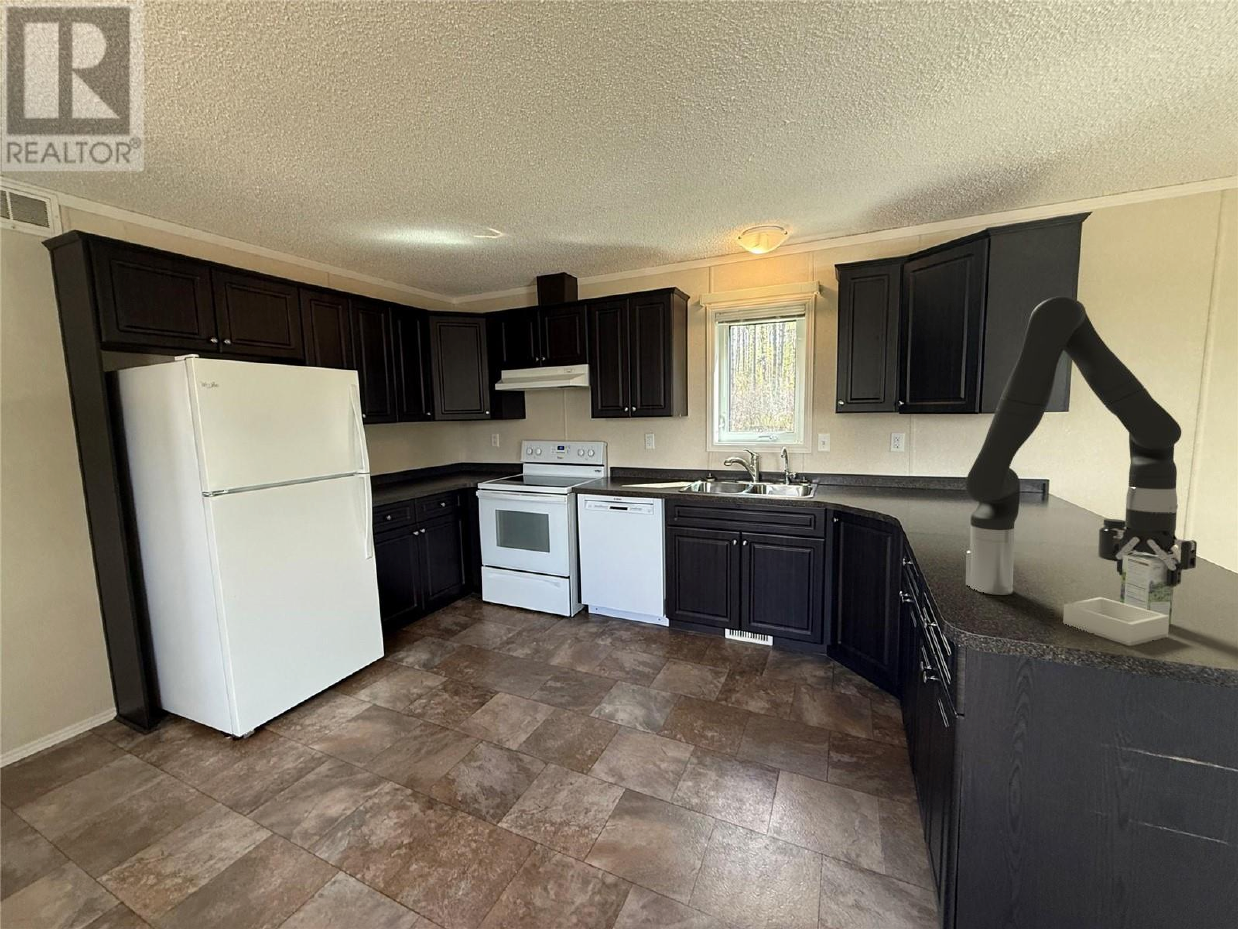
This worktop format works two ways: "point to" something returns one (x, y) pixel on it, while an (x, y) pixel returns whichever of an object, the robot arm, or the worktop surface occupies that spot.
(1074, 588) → the worktop surface
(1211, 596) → the worktop surface
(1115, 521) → the supplement bottle
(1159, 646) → the worktop surface
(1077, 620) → the bin
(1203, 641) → the worktop surface
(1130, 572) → the syrup box
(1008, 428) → the robot arm
